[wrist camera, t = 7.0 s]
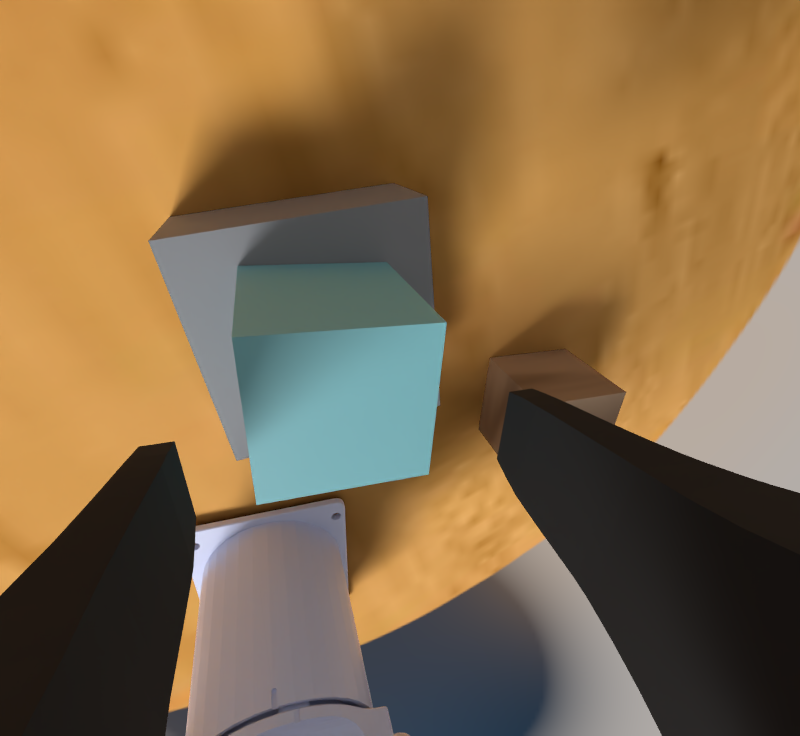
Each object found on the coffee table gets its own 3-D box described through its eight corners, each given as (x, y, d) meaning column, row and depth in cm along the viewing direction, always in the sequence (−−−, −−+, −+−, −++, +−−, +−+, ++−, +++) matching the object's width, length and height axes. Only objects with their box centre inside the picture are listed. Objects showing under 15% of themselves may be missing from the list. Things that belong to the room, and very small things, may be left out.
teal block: (381, 382, 16) (428, 474, 12) (254, 396, 14) (256, 505, 10) (386, 261, 14) (446, 322, 9) (237, 265, 12) (231, 337, 8)
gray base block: (409, 360, 21) (440, 405, 17) (238, 402, 19) (236, 460, 16) (391, 182, 16) (427, 196, 13) (171, 215, 15) (148, 241, 11)
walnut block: (546, 416, 25) (599, 468, 21) (477, 428, 24) (520, 484, 20) (564, 348, 23) (625, 392, 19) (489, 356, 22) (539, 405, 18)
